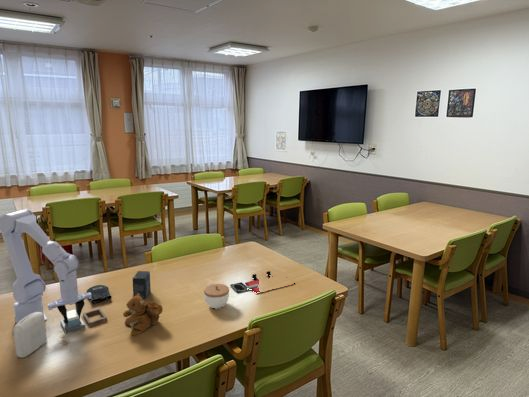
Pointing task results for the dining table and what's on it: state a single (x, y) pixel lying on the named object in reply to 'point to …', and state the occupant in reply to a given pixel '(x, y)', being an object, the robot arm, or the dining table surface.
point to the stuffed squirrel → (141, 314)
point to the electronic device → (99, 293)
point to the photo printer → (29, 334)
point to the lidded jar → (216, 295)
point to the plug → (72, 319)
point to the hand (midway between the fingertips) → (72, 320)
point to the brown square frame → (91, 323)
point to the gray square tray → (72, 327)
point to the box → (141, 284)
